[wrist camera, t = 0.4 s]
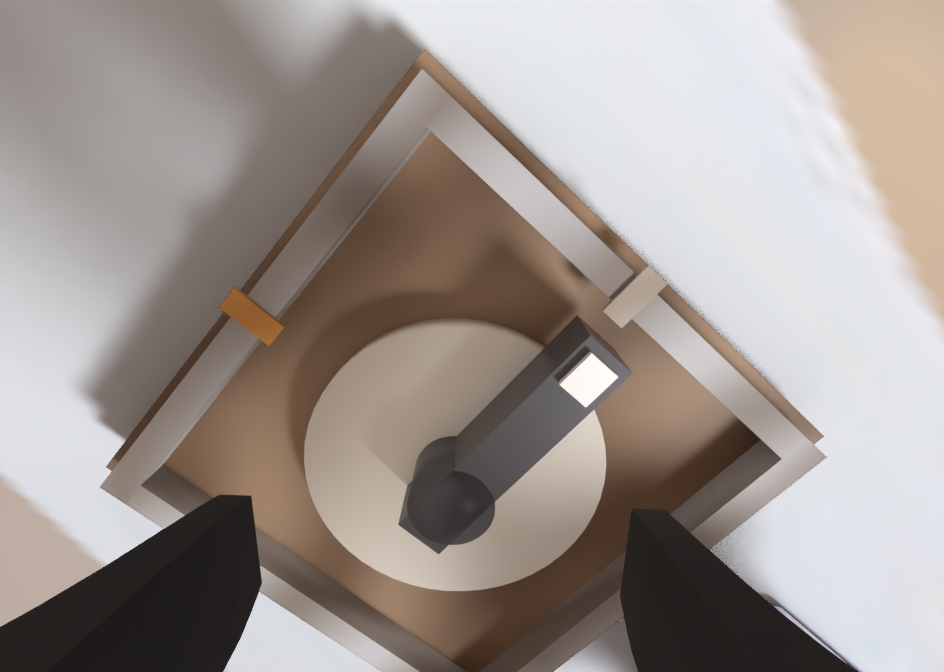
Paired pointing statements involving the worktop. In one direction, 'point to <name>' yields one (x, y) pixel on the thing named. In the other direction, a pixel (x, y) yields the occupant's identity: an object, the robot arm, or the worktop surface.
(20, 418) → the worktop surface
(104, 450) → the worktop surface
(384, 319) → the dial housing
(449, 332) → the dial
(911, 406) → the worktop surface
